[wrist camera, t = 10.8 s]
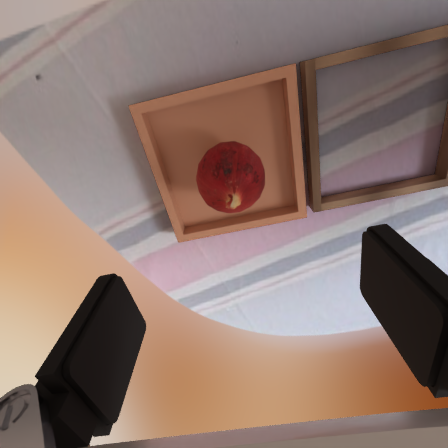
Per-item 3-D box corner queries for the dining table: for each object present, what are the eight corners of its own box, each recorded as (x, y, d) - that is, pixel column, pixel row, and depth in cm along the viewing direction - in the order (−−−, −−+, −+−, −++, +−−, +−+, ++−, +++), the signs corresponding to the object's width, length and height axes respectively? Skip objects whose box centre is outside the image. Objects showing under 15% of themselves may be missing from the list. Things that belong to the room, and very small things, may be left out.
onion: (193, 136, 23) (185, 168, 17) (256, 127, 23) (274, 157, 16) (203, 193, 27) (200, 239, 20) (259, 186, 26) (275, 231, 20)
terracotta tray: (288, 64, 22) (295, 63, 20) (301, 208, 28) (307, 217, 26) (136, 103, 23) (128, 105, 21) (181, 232, 29) (178, 242, 27)
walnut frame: (473, 18, 20) (490, 13, 19) (441, 179, 27) (453, 184, 25) (299, 62, 22) (304, 60, 20) (309, 206, 28) (313, 212, 27)
